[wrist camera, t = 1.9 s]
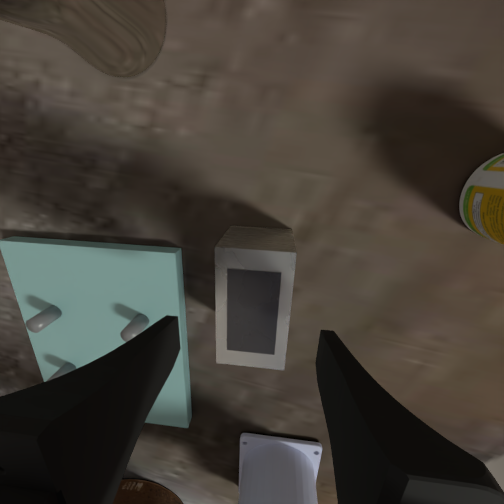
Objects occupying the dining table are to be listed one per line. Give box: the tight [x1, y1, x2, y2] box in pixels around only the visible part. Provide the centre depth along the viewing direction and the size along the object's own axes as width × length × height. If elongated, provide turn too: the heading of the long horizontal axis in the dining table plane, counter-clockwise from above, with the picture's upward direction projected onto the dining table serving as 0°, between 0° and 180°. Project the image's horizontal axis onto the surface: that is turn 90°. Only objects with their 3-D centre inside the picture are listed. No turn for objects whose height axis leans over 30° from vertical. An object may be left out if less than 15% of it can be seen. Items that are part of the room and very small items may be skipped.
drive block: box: [215, 225, 297, 370], centre depth 17 cm, size 8×4×5 cm, turn 178°
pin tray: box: [0, 236, 192, 428], centre depth 21 cm, size 18×14×3 cm
